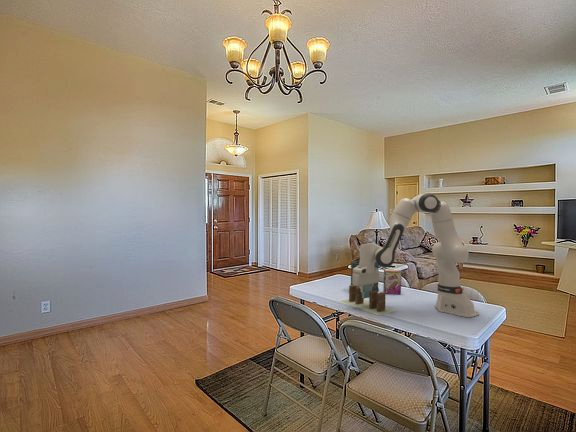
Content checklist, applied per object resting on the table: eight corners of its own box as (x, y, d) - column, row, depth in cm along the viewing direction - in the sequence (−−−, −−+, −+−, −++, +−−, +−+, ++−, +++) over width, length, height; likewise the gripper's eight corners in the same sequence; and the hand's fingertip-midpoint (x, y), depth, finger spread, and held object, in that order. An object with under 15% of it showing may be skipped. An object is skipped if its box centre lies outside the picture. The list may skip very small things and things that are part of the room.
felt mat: (396, 311, 176) (396, 310, 176) (378, 316, 168) (378, 315, 168) (356, 298, 202) (356, 297, 202) (339, 301, 194) (339, 301, 194)
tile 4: (363, 303, 190) (363, 287, 190) (357, 304, 187) (358, 288, 187) (361, 302, 192) (361, 286, 192) (355, 303, 189) (355, 287, 189)
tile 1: (385, 310, 176) (385, 293, 176) (379, 311, 173) (379, 294, 173) (382, 309, 178) (382, 292, 178) (376, 311, 175) (376, 293, 175)
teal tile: (370, 297, 185) (370, 280, 185) (364, 298, 183) (364, 281, 182) (367, 296, 187) (367, 280, 187) (361, 297, 184) (362, 281, 184)
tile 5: (357, 300, 195) (357, 285, 194) (351, 302, 192) (351, 286, 192) (354, 300, 196) (354, 284, 196) (349, 301, 193) (349, 285, 193)
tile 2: (377, 307, 181) (377, 291, 181) (371, 309, 178) (372, 292, 178) (375, 307, 182) (375, 290, 182) (369, 308, 180) (369, 291, 180)
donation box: (378, 291, 219) (379, 252, 219) (367, 296, 208) (368, 254, 207) (358, 287, 230) (358, 250, 230) (347, 291, 218) (347, 252, 218)
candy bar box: (384, 294, 213) (385, 270, 213) (383, 292, 218) (383, 269, 218) (401, 294, 212) (401, 271, 212) (399, 292, 217) (399, 269, 217)
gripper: (374, 266, 193) (373, 288, 193) (350, 269, 182) (350, 292, 182) (382, 267, 188) (381, 290, 188) (358, 271, 176) (358, 295, 177)
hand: (366, 291), depth 185 cm, fingers closed on teal tile, 5 cm apart
